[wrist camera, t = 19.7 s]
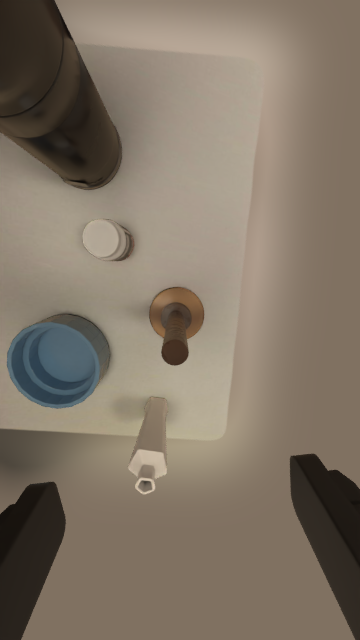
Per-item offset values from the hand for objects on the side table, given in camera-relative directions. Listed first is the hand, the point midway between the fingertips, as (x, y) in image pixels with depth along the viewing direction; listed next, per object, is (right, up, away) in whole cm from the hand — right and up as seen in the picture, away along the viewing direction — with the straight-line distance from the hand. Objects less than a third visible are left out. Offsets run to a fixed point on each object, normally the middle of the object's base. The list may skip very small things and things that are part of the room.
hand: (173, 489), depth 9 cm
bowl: (-17, +1, +31) cm, 35 cm away
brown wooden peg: (0, +6, +29) cm, 29 cm away
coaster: (0, +7, +29) cm, 30 cm away
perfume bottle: (-3, -8, +33) cm, 34 cm away
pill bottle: (-9, +16, +27) cm, 33 cm away
